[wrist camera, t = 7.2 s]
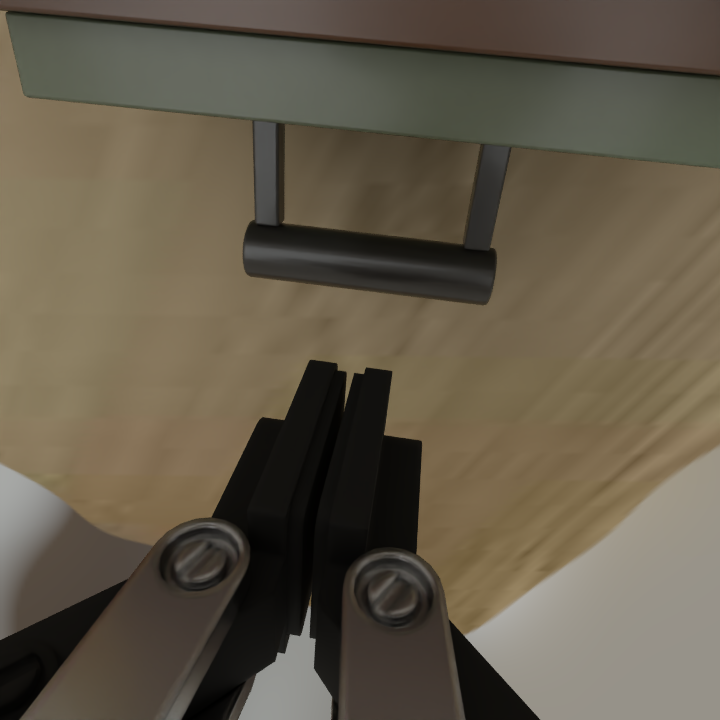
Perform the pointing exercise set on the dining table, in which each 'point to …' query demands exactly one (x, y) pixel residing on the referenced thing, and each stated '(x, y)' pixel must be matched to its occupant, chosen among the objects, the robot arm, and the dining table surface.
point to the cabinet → (451, 25)
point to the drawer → (372, 125)
